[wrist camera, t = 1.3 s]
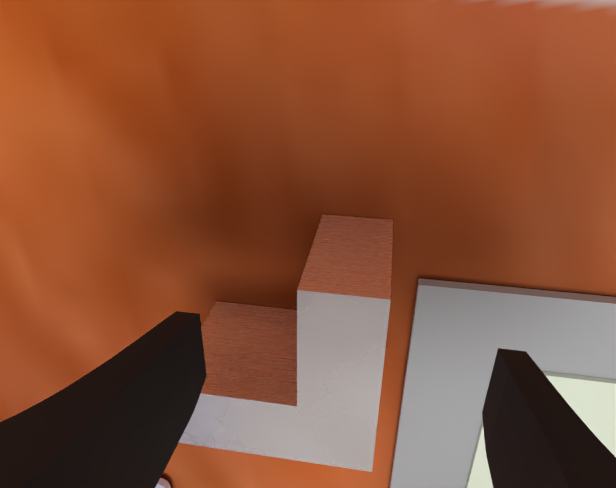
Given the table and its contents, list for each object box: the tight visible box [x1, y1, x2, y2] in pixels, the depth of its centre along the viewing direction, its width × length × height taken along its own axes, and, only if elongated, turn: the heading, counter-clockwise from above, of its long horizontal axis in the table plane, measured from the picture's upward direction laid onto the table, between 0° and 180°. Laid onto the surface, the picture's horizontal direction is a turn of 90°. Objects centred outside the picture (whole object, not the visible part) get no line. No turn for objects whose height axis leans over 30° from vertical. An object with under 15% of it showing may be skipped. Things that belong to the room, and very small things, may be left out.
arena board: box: [389, 278, 616, 488], centre depth 18 cm, size 13×14×1 cm
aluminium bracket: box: [178, 214, 393, 472], centre depth 15 cm, size 6×6×4 cm
